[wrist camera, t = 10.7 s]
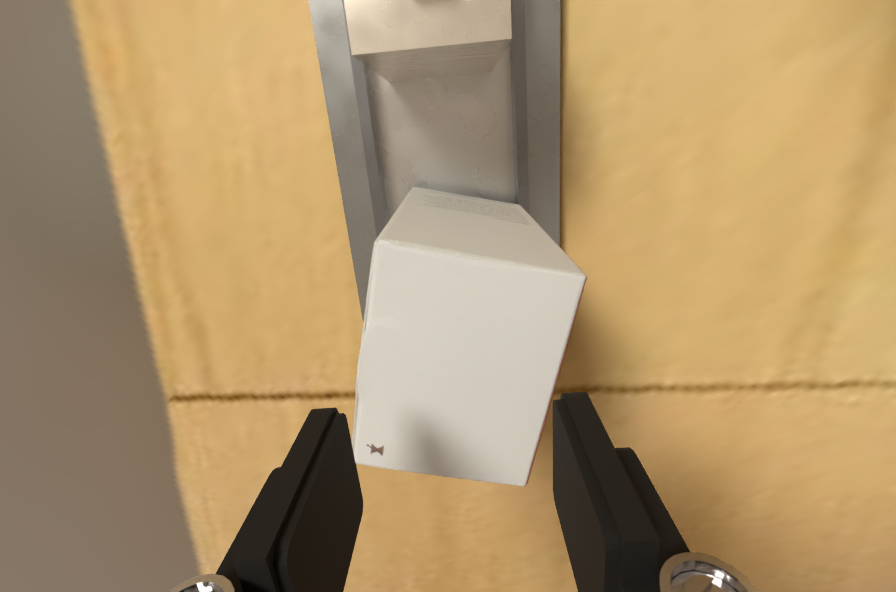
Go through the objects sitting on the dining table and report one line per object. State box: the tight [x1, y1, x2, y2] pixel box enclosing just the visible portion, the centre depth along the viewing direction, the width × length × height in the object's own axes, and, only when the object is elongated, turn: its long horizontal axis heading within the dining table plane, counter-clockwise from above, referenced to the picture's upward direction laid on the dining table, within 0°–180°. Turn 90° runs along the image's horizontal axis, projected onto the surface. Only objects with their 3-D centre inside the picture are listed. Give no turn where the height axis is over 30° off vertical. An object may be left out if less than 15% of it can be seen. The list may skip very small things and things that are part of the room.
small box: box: [352, 187, 587, 486], centre depth 20 cm, size 8×6×13 cm
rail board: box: [309, 0, 560, 323], centre depth 22 cm, size 13×24×12 cm, turn 5°
